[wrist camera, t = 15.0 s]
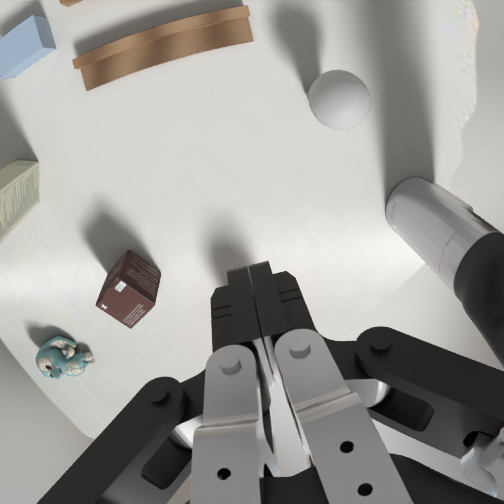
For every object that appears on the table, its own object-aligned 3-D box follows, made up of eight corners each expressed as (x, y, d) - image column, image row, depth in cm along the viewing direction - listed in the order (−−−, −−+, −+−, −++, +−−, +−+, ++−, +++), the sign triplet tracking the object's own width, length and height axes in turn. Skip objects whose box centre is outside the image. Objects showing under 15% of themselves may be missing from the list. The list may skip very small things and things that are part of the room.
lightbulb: (326, 63, 33) (367, 61, 24) (345, 107, 36) (389, 120, 27) (281, 82, 34) (308, 84, 24) (303, 126, 37) (335, 145, 27)
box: (138, 296, 47) (130, 330, 40) (106, 273, 44) (93, 305, 38) (162, 272, 45) (156, 305, 39) (129, 247, 42) (117, 277, 36)
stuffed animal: (100, 394, 50) (44, 396, 47) (100, 365, 56) (48, 368, 52) (84, 356, 45) (22, 359, 41) (86, 326, 51) (29, 330, 47)
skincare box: (15, 159, 33) (-37, 191, 23) (40, 161, 34) (-10, 194, 24) (16, 201, 36) (-30, 243, 26) (41, 204, 37) (-3, 249, 27)
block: (47, 18, 25) (33, 14, 21) (57, 48, 27) (42, 47, 24) (6, 47, 25) (-10, 47, 22) (15, 77, 28) (-1, 79, 24)
